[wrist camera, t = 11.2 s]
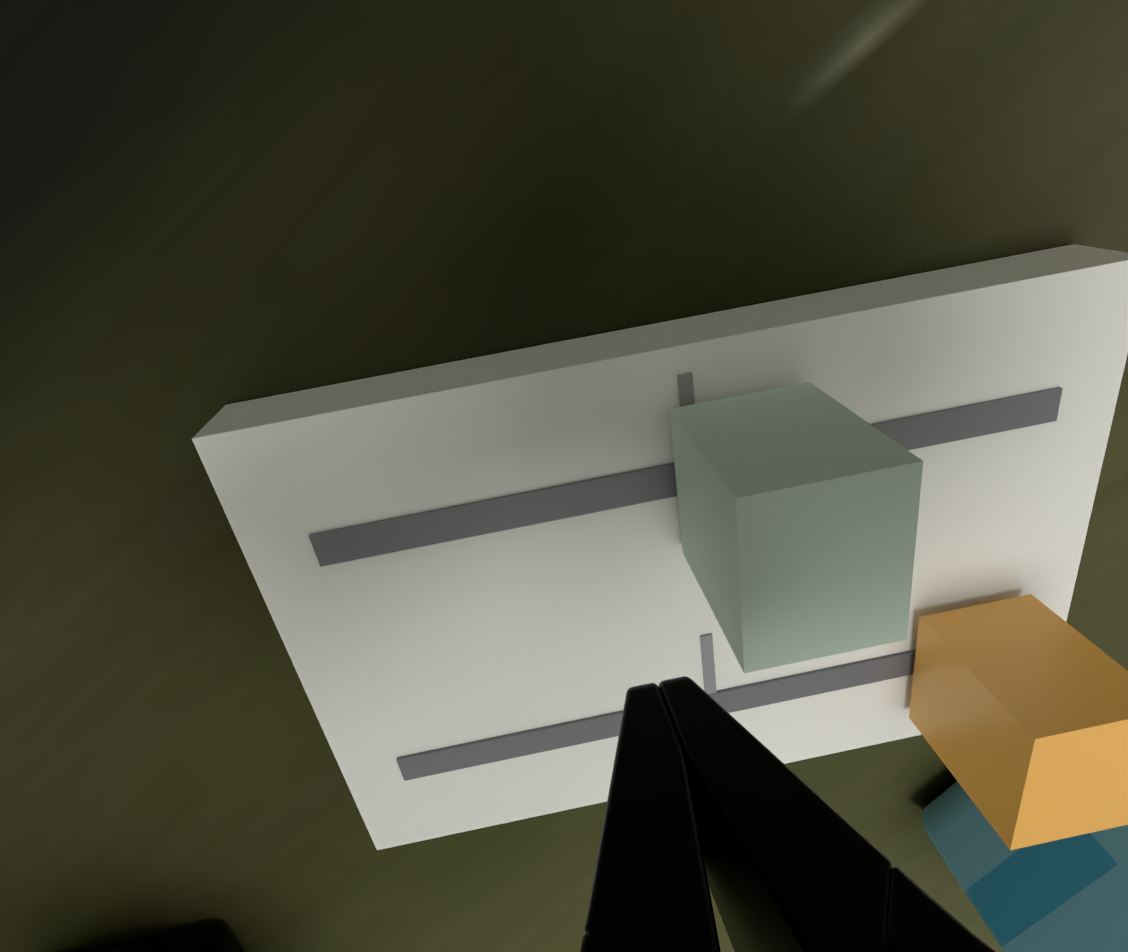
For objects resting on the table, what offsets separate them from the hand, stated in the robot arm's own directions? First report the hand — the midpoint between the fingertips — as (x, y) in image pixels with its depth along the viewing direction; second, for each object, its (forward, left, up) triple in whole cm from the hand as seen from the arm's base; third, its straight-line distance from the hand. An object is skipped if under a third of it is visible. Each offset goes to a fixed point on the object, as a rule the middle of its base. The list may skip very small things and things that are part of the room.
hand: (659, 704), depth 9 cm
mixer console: (-4, -2, -8) cm, 10 cm away
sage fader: (0, -3, -6) cm, 7 cm away
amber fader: (-7, -9, -6) cm, 13 cm away
